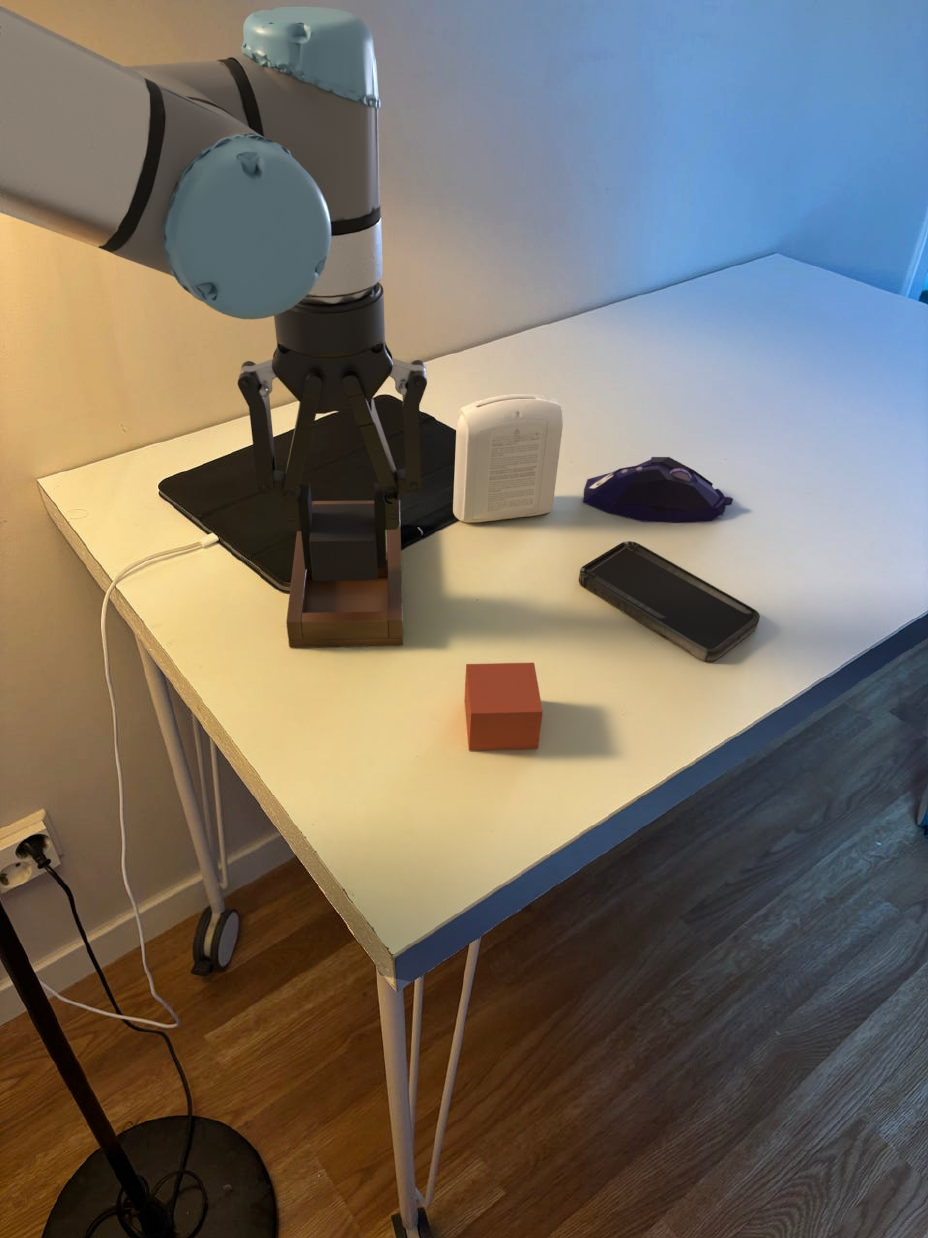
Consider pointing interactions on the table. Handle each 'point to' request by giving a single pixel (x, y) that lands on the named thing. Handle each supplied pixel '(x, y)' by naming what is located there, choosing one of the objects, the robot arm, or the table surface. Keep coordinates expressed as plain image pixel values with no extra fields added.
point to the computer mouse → (656, 493)
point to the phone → (669, 600)
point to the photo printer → (506, 457)
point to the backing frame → (347, 602)
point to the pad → (502, 706)
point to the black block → (343, 542)
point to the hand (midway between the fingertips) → (346, 558)
